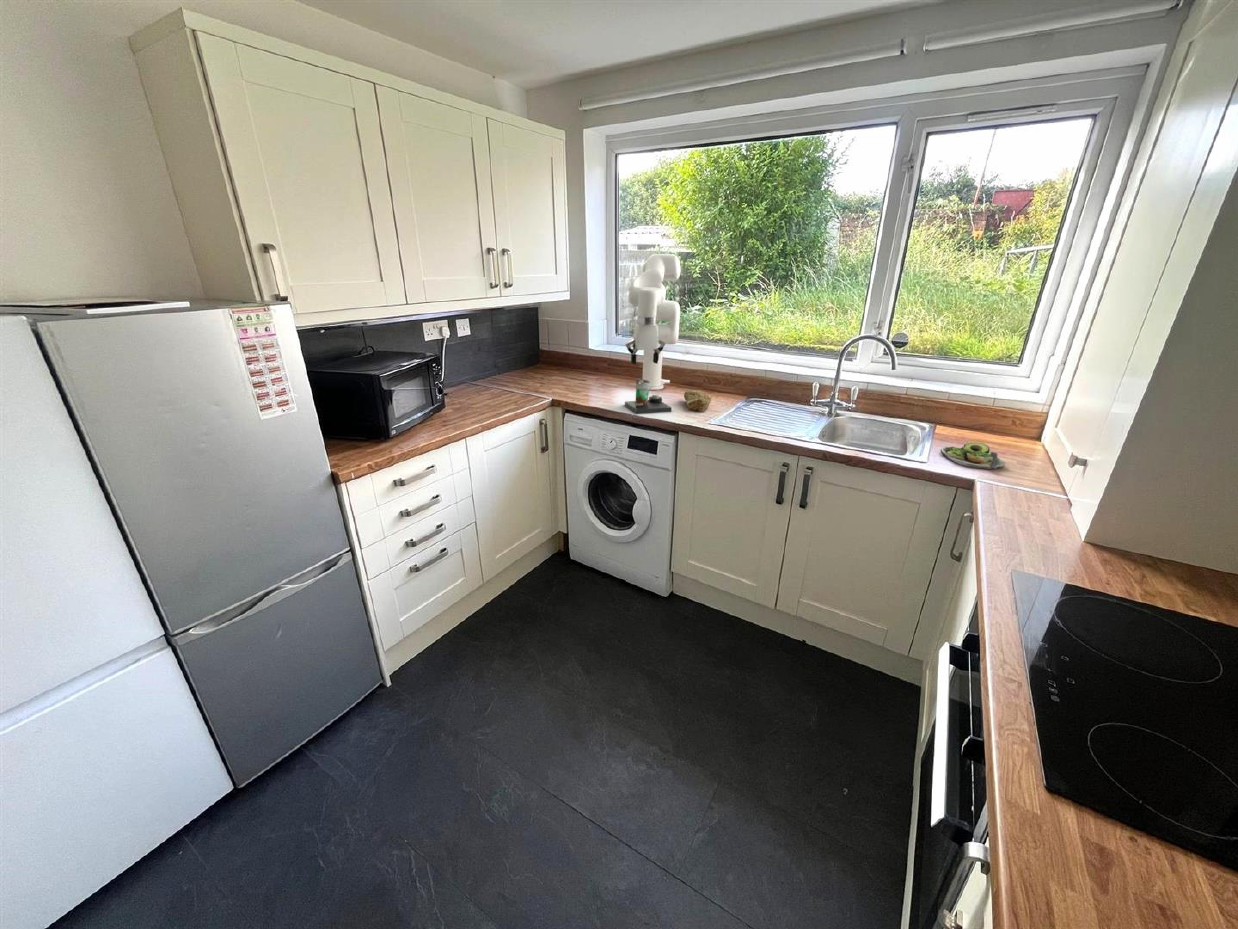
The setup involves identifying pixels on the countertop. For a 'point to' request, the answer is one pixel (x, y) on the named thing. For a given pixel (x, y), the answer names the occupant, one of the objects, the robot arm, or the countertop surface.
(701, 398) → the mossy rock
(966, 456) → the salad plate
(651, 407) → the scale
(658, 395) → the scale button
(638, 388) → the food container
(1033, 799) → the countertop surface
